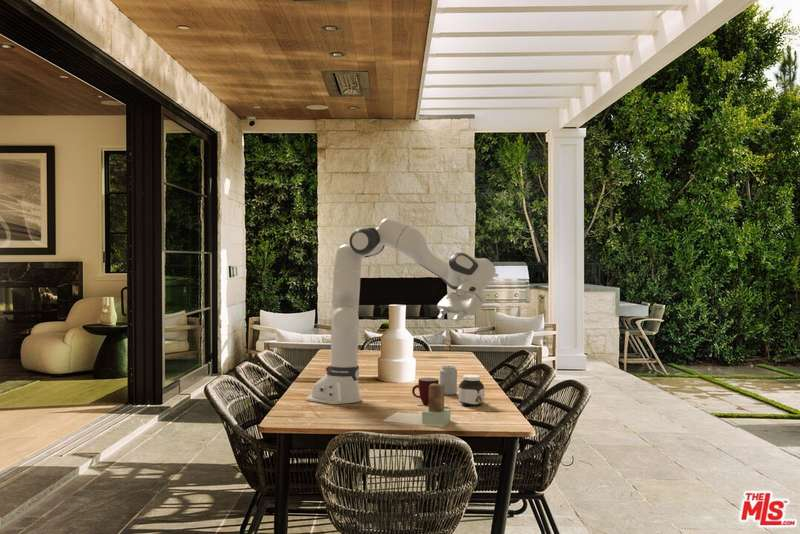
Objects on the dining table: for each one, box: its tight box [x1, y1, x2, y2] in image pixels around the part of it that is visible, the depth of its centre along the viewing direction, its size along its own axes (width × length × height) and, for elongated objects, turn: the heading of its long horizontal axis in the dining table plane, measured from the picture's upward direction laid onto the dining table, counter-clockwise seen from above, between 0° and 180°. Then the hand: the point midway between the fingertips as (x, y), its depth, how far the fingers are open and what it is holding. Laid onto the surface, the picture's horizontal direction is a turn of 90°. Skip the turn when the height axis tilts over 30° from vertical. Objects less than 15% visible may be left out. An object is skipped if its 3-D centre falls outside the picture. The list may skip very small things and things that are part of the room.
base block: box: [421, 407, 451, 426], centre depth 240 cm, size 8×8×4 cm
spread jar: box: [457, 374, 486, 408], centre depth 277 cm, size 12×11×12 cm
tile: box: [382, 411, 454, 428], centre depth 244 cm, size 22×15×1 cm
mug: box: [411, 377, 440, 406], centre depth 275 cm, size 10×8×10 cm
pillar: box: [427, 383, 445, 412], centre depth 240 cm, size 4×4×9 cm
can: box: [439, 365, 458, 396], centre depth 296 cm, size 8×8×12 cm
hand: (447, 320), depth 257 cm, fingers open, 8 cm apart
